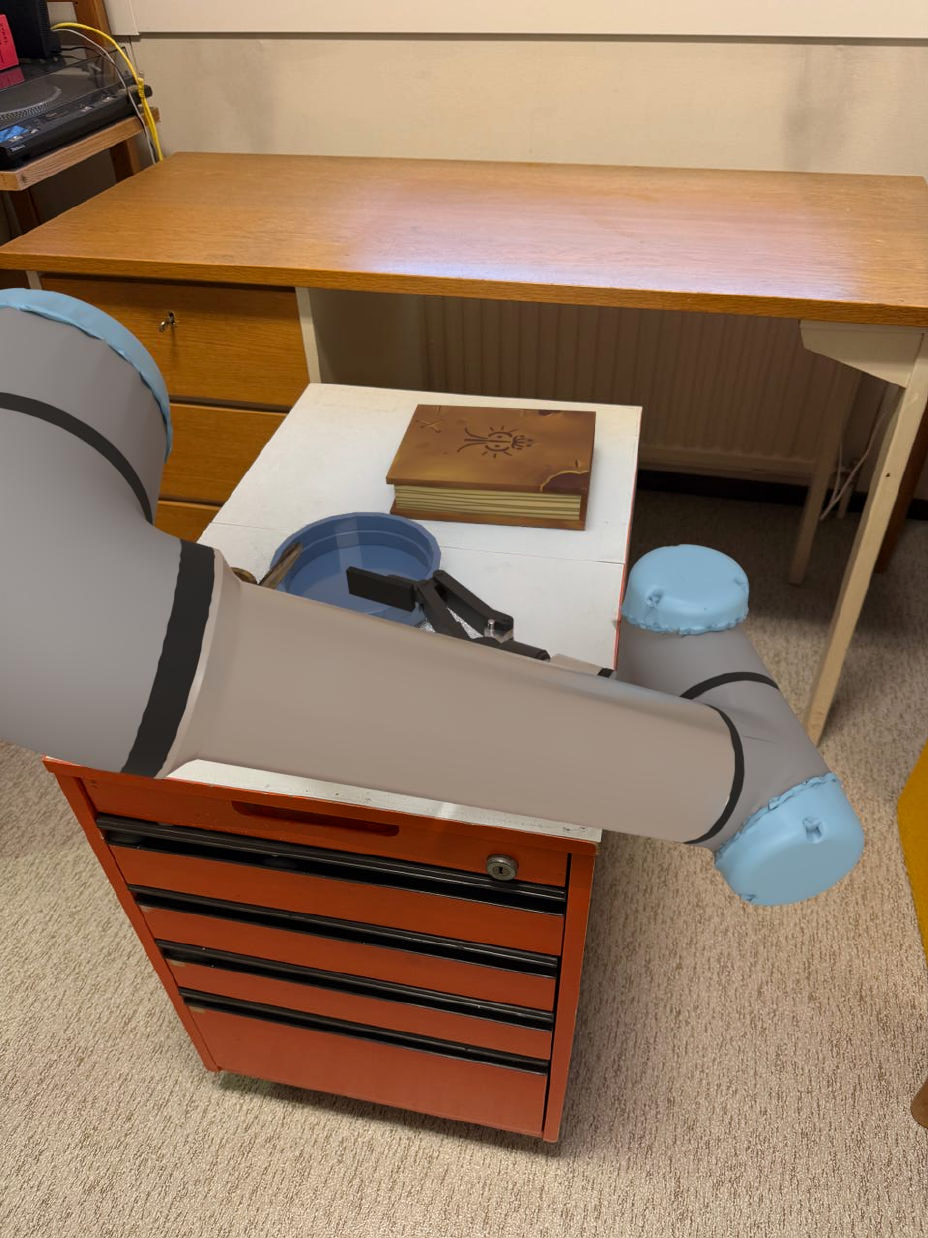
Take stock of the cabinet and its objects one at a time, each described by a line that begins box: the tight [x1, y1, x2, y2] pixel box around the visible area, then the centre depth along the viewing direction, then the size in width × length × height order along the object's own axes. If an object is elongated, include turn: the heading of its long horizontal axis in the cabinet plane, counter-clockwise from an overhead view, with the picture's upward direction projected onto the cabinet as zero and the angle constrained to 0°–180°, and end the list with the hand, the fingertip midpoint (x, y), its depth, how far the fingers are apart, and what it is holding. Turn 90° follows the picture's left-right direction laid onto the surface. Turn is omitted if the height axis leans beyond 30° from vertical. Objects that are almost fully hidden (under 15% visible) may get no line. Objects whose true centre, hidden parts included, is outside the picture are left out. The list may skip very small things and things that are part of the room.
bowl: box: [268, 511, 443, 627], centre depth 93 cm, size 18×18×4 cm
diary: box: [385, 403, 597, 531], centre depth 108 cm, size 23×19×6 cm
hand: (307, 625), depth 75 cm, fingers open, 13 cm apart
